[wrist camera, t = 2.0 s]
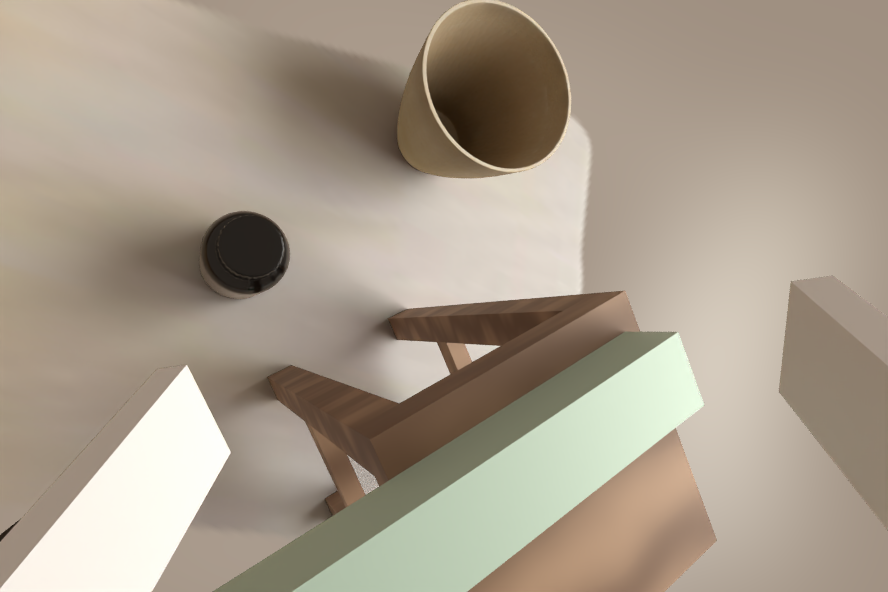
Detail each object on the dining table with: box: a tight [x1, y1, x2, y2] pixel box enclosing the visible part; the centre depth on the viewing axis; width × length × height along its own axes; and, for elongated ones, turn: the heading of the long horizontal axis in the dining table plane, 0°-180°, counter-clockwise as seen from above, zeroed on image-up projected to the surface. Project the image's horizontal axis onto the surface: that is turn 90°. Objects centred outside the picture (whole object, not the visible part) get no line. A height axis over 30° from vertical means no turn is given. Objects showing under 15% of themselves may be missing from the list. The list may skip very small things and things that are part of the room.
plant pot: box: [397, 0, 571, 178], centre depth 53 cm, size 15×15×16 cm
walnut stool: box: [267, 291, 717, 592], centre depth 42 cm, size 16×16×32 cm
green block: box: [213, 332, 704, 592], centre depth 23 cm, size 24×4×4 cm, turn 115°
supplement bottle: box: [199, 211, 290, 299], centre depth 46 cm, size 7×7×12 cm
